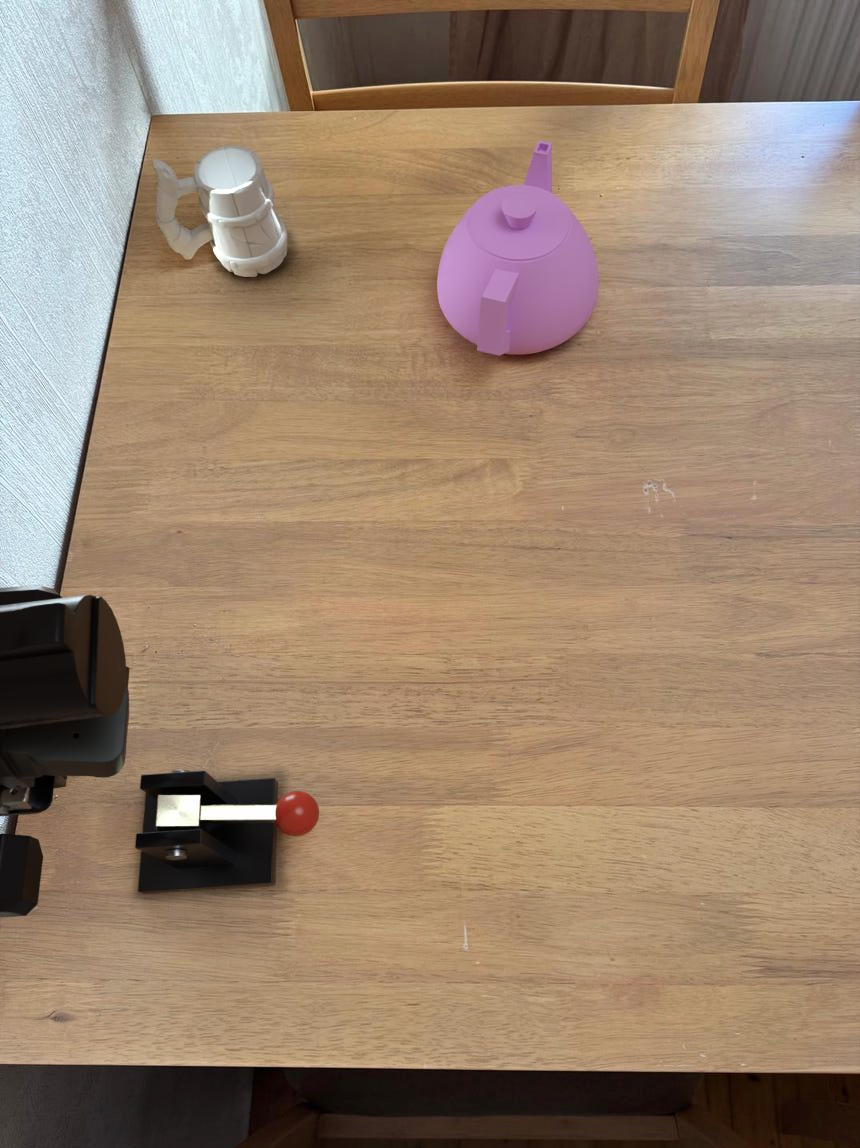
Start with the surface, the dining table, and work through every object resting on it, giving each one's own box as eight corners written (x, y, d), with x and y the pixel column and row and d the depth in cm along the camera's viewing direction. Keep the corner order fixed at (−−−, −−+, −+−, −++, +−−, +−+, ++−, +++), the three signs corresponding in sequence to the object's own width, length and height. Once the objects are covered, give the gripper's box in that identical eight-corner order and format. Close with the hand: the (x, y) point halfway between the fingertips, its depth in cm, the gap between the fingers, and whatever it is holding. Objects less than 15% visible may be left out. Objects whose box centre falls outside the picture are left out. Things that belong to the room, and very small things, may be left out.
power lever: (317, 796, 68) (321, 786, 65) (316, 840, 67) (321, 831, 64) (160, 797, 65) (158, 785, 62) (157, 842, 64) (154, 832, 61)
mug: (298, 269, 93) (271, 167, 82) (183, 296, 92) (139, 197, 81) (282, 216, 96) (254, 111, 85) (171, 242, 95) (127, 138, 84)
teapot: (571, 406, 86) (582, 314, 75) (412, 376, 87) (399, 281, 76) (615, 234, 94) (630, 129, 83) (468, 210, 96) (464, 103, 85)
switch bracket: (278, 781, 72) (246, 746, 63) (275, 885, 69) (242, 863, 60) (151, 790, 72) (101, 756, 63) (143, 894, 69) (89, 874, 60)
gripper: (61, 886, 41) (174, 922, 56) (101, 526, 48) (192, 641, 63) (-187, 903, 41) (-9, 935, 56) (-109, 540, 48) (30, 651, 63)
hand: (59, 781), depth 59 cm, fingers closed
